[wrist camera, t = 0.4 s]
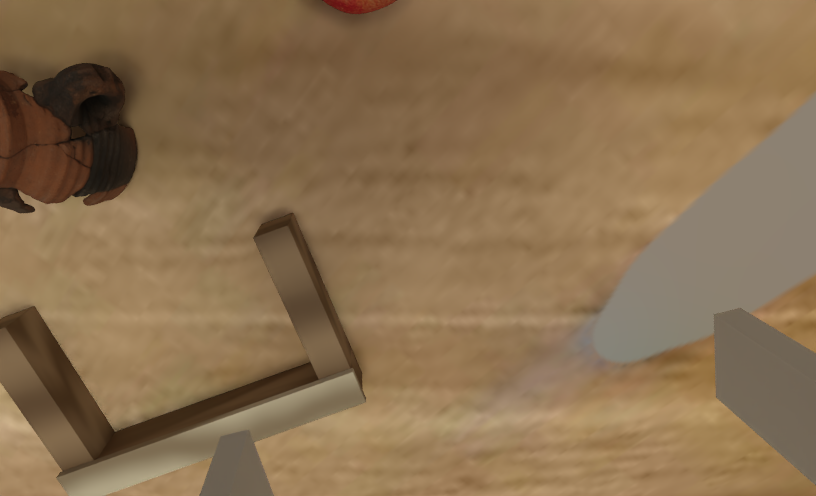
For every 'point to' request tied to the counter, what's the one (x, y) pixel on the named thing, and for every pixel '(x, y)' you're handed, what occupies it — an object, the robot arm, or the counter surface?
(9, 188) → the brown broken pot
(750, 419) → the robot arm
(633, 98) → the counter surface
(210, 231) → the counter surface
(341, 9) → the apple
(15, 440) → the counter surface
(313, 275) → the walnut pocket
